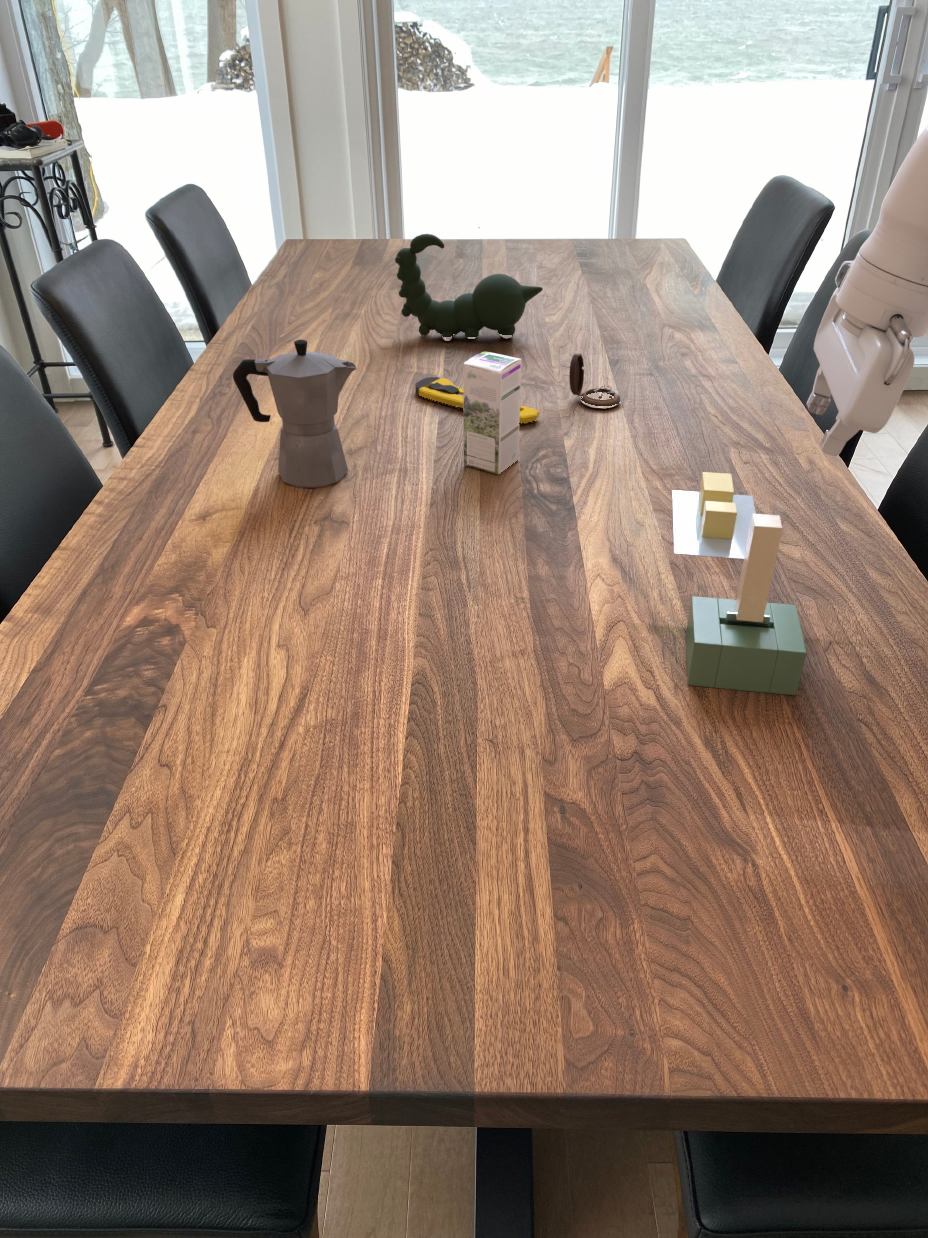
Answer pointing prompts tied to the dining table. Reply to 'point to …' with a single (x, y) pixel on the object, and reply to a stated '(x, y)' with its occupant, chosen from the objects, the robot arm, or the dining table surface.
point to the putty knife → (757, 572)
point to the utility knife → (458, 396)
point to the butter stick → (715, 488)
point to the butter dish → (690, 527)
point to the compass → (576, 387)
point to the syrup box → (491, 411)
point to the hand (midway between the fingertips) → (820, 430)
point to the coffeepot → (302, 412)
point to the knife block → (744, 649)
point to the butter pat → (718, 520)
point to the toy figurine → (460, 299)
